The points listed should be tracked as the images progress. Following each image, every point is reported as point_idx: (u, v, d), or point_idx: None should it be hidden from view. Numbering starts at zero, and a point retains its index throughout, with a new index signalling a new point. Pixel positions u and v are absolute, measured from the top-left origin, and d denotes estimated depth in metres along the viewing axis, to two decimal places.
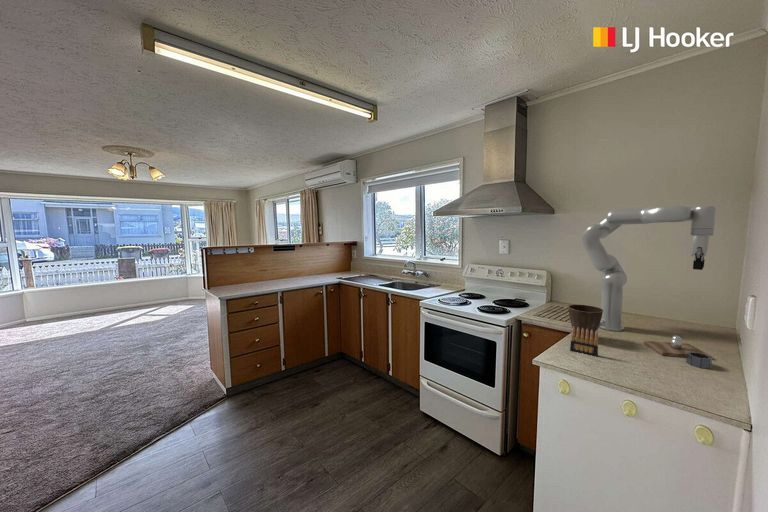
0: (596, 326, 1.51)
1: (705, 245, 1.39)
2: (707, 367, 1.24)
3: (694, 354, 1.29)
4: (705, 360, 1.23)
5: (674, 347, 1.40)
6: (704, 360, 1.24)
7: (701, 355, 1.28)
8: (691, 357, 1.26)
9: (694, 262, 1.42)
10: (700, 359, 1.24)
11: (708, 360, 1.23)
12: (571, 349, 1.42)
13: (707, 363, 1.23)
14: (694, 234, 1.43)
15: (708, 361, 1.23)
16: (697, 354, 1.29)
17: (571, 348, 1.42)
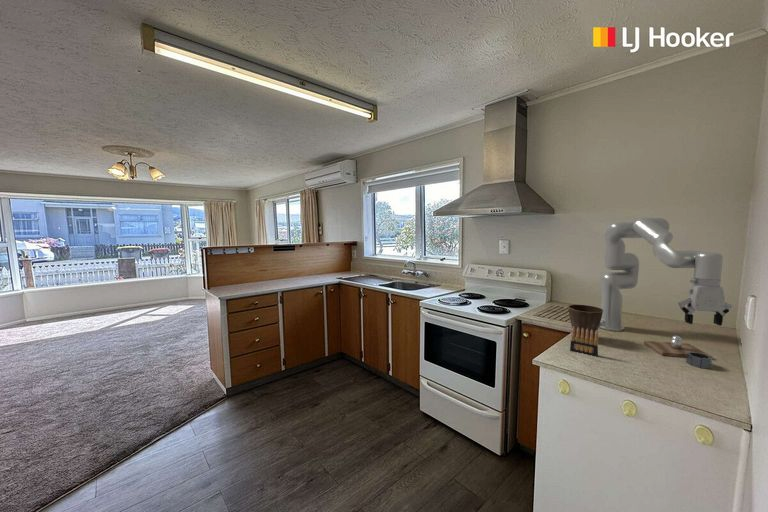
0: (596, 326, 1.51)
1: None
2: (707, 367, 1.24)
3: (694, 354, 1.29)
4: (705, 360, 1.23)
5: (674, 347, 1.40)
6: (704, 360, 1.24)
7: (701, 355, 1.28)
8: (691, 357, 1.26)
9: None
10: (700, 359, 1.24)
11: (708, 360, 1.23)
12: (571, 349, 1.42)
13: (707, 363, 1.23)
14: (719, 286, 1.21)
15: (708, 361, 1.23)
16: (697, 354, 1.29)
17: (571, 348, 1.42)
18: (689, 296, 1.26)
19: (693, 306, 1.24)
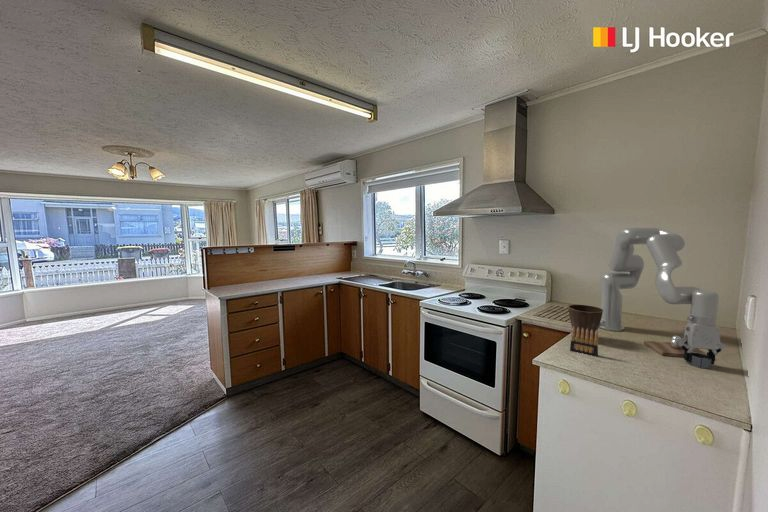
0: (596, 326, 1.51)
1: None
2: (707, 367, 1.24)
3: (694, 354, 1.29)
4: (705, 360, 1.23)
5: (674, 347, 1.40)
6: (704, 360, 1.24)
7: (701, 355, 1.28)
8: None
9: None
10: (700, 359, 1.24)
11: (708, 360, 1.23)
12: (571, 349, 1.42)
13: (707, 363, 1.23)
14: (715, 324, 1.22)
15: (708, 361, 1.23)
16: (697, 354, 1.29)
17: (571, 348, 1.42)
18: (686, 333, 1.27)
19: (689, 343, 1.25)
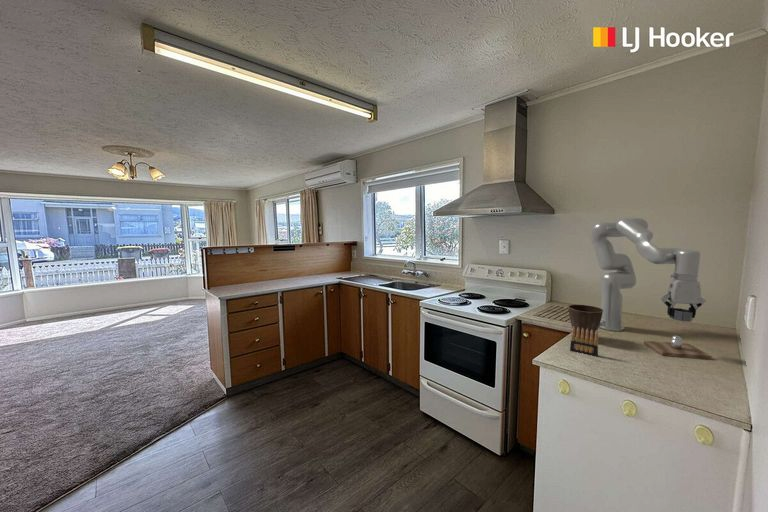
0: (596, 326, 1.51)
1: None
2: (688, 320, 1.34)
3: (677, 310, 1.40)
4: (686, 314, 1.34)
5: (674, 347, 1.40)
6: (685, 314, 1.34)
7: (683, 310, 1.38)
8: (674, 312, 1.37)
9: None
10: (682, 313, 1.34)
11: (689, 313, 1.33)
12: (571, 349, 1.42)
13: (688, 317, 1.34)
14: (696, 281, 1.32)
15: (689, 314, 1.33)
16: (680, 310, 1.39)
17: (571, 348, 1.42)
18: (669, 290, 1.38)
19: (672, 299, 1.36)
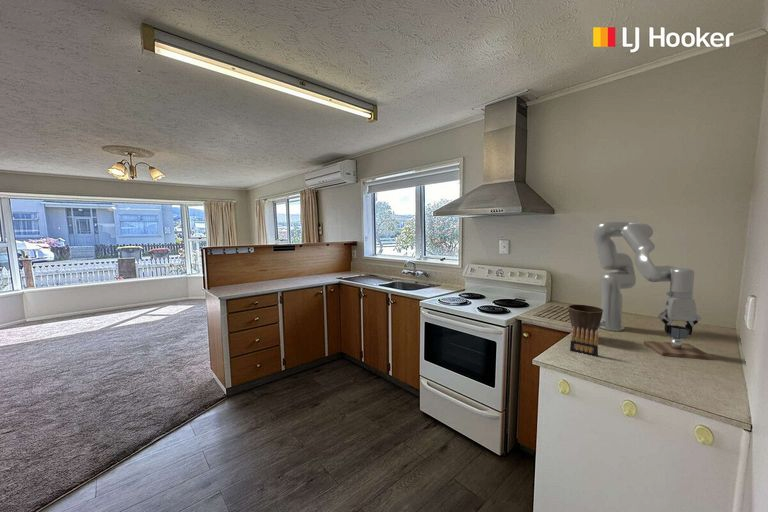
0: (596, 326, 1.51)
1: None
2: (685, 337, 1.36)
3: (674, 327, 1.42)
4: (683, 331, 1.36)
5: (674, 347, 1.40)
6: (682, 331, 1.36)
7: (680, 327, 1.41)
8: None
9: None
10: (679, 330, 1.37)
11: (686, 331, 1.36)
12: (571, 349, 1.42)
13: (685, 334, 1.36)
14: None
15: (686, 332, 1.36)
16: (677, 327, 1.41)
17: (571, 348, 1.42)
18: (666, 307, 1.40)
19: (669, 316, 1.38)
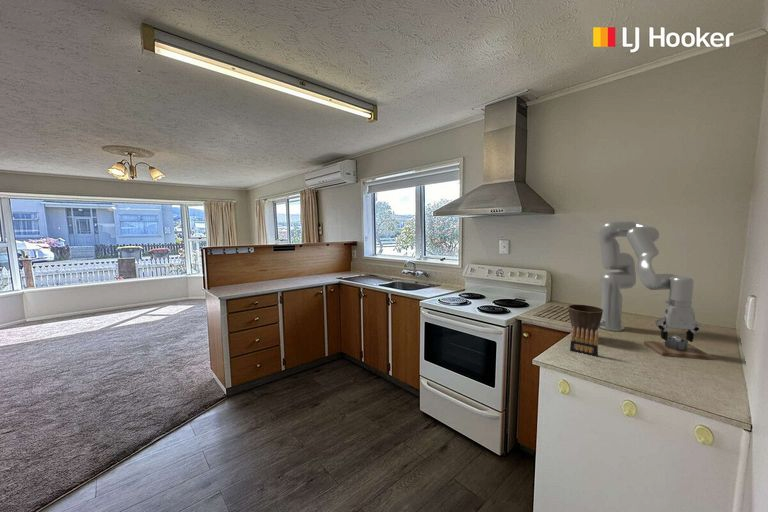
0: (596, 326, 1.51)
1: None
2: (683, 350, 1.37)
3: None
4: (681, 343, 1.37)
5: None
6: (680, 343, 1.37)
7: None
8: (669, 341, 1.40)
9: None
10: (677, 342, 1.37)
11: (684, 343, 1.37)
12: (571, 349, 1.42)
13: (683, 346, 1.37)
14: (691, 307, 1.36)
15: (684, 344, 1.37)
16: None
17: (571, 348, 1.42)
18: (665, 315, 1.41)
19: (667, 324, 1.39)
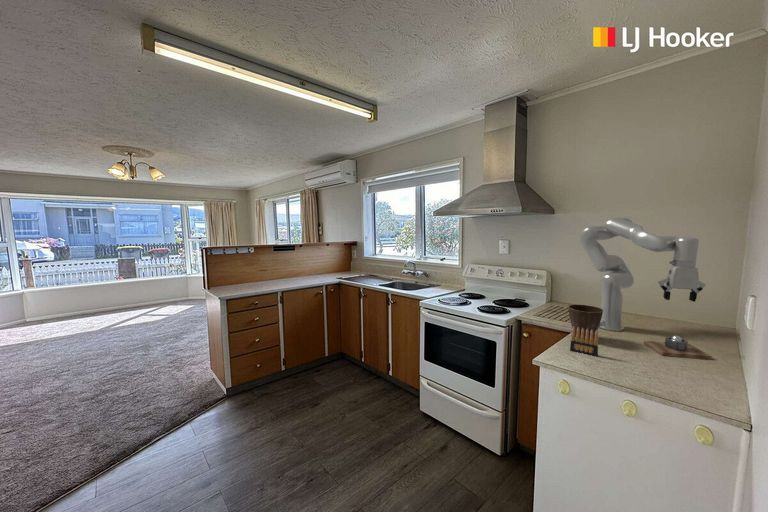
0: (596, 326, 1.51)
1: None
2: (683, 350, 1.37)
3: None
4: (681, 343, 1.37)
5: None
6: (680, 343, 1.37)
7: None
8: (669, 341, 1.40)
9: None
10: (677, 342, 1.37)
11: (684, 343, 1.37)
12: (571, 349, 1.42)
13: (683, 346, 1.37)
14: None
15: (684, 344, 1.37)
16: None
17: (571, 348, 1.42)
18: (668, 276, 1.43)
19: (671, 284, 1.41)
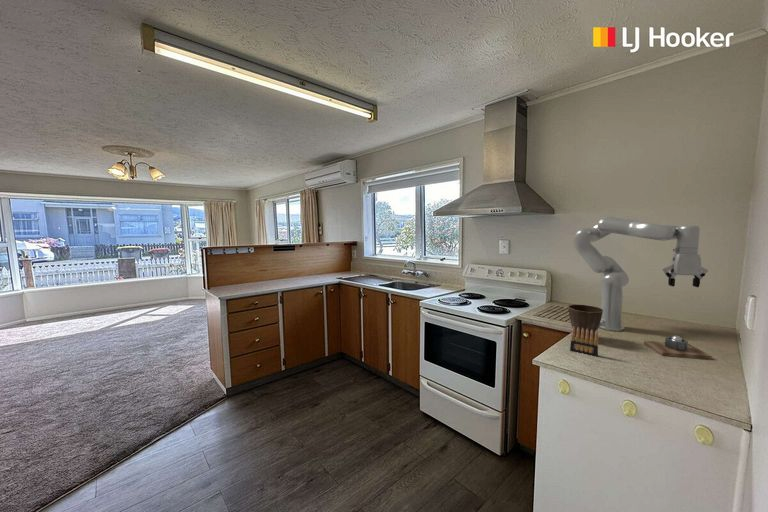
0: (596, 326, 1.51)
1: None
2: (683, 350, 1.37)
3: None
4: (681, 343, 1.37)
5: None
6: (680, 343, 1.37)
7: None
8: (669, 341, 1.40)
9: None
10: (677, 342, 1.37)
11: (684, 343, 1.37)
12: (571, 349, 1.42)
13: (683, 346, 1.37)
14: (697, 253, 1.43)
15: (684, 344, 1.37)
16: None
17: (571, 348, 1.42)
18: (672, 263, 1.48)
19: (675, 271, 1.46)
